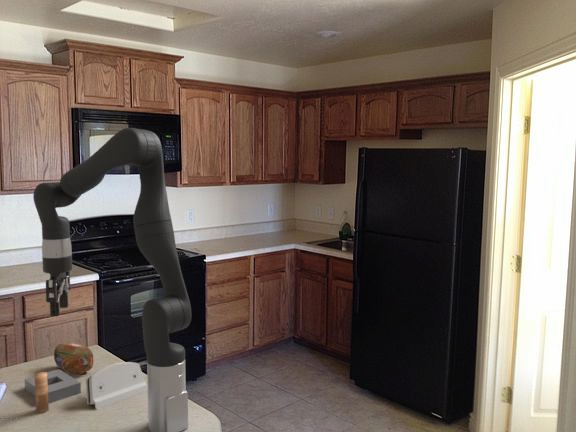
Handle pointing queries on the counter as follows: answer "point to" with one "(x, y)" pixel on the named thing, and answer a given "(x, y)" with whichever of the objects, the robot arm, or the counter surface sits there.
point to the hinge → (115, 384)
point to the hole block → (56, 385)
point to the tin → (73, 357)
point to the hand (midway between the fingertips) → (59, 311)
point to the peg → (41, 392)
